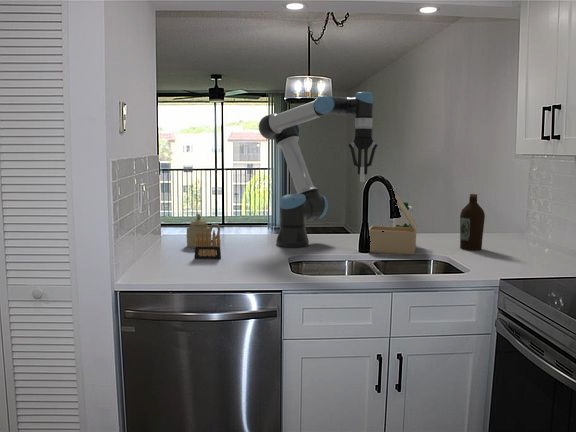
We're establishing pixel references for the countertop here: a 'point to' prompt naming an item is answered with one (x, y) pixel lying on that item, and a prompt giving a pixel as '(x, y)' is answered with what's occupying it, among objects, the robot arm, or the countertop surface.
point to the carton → (392, 240)
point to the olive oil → (471, 225)
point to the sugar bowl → (198, 226)
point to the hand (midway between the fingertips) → (362, 181)
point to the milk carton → (403, 218)
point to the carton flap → (405, 211)
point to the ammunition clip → (202, 247)
